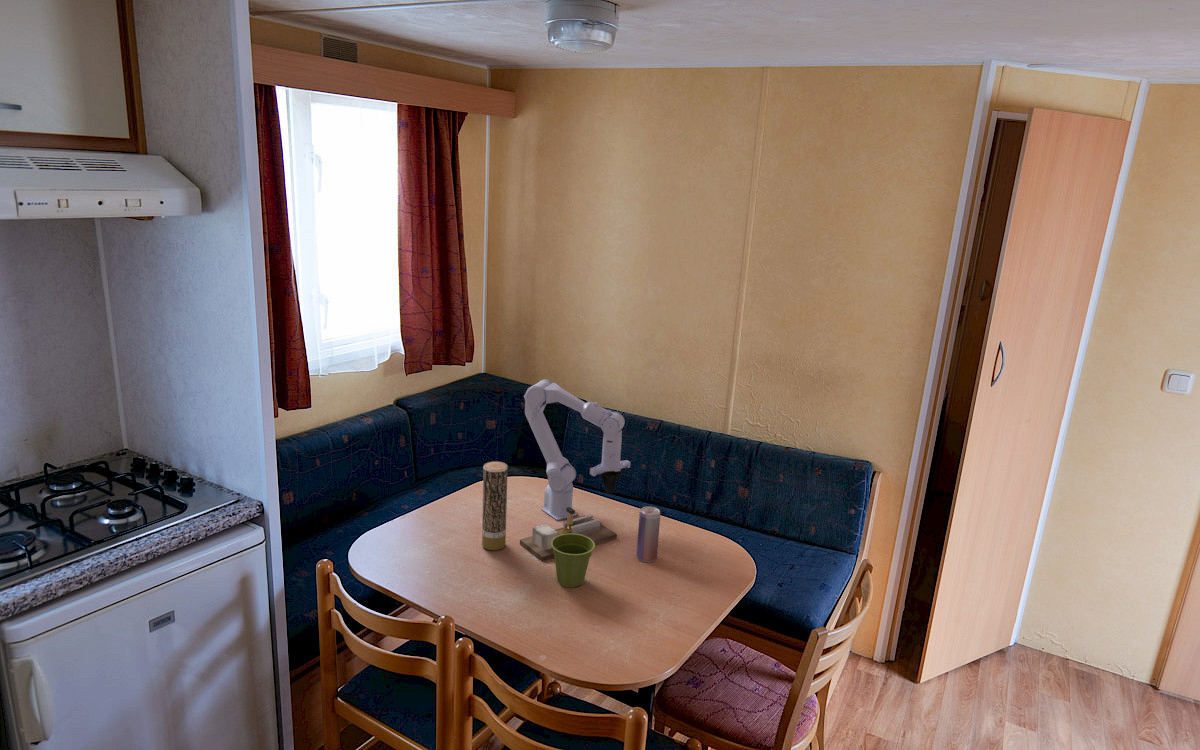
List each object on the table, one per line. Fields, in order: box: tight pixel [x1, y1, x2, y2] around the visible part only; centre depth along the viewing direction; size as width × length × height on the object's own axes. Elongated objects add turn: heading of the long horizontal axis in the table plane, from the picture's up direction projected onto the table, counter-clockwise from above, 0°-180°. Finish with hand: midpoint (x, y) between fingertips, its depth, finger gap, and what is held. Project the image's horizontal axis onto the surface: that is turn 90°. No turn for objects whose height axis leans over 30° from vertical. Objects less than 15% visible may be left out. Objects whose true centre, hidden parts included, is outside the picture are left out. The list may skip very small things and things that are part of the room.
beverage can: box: [635, 505, 661, 563], centre depth 214 cm, size 6×6×15 cm
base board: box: [519, 518, 618, 562], centre depth 223 cm, size 12×27×2 cm, turn 127°
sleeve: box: [563, 514, 601, 536], centre depth 225 cm, size 5×10×4 cm, turn 127°
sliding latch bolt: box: [556, 507, 576, 535], centre depth 219 cm, size 3×11×8 cm, turn 127°
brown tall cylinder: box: [481, 461, 509, 551], centre depth 215 cm, size 7×7×25 cm
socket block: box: [531, 523, 558, 550], centre depth 217 cm, size 6×4×4 cm
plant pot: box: [551, 533, 596, 588], centre depth 200 cm, size 12×12×11 cm
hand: (608, 492), depth 234 cm, fingers closed
